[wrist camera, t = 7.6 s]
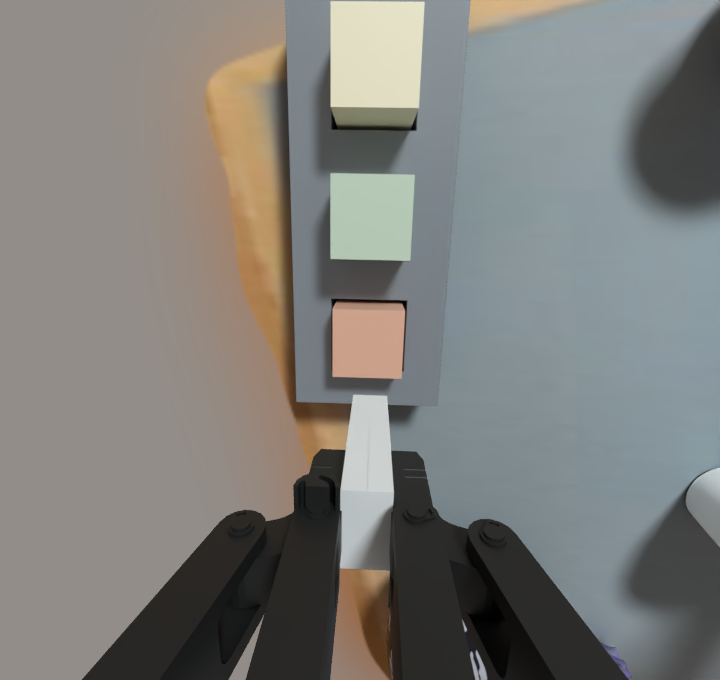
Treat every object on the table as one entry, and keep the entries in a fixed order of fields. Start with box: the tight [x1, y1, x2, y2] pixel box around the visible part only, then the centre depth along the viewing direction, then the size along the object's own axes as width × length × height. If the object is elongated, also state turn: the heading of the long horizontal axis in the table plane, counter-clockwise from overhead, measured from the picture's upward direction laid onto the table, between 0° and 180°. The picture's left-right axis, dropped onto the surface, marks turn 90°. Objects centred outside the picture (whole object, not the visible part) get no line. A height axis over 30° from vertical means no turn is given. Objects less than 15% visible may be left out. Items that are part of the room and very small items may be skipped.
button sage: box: [330, 173, 415, 261], centre depth 28 cm, size 5×5×6 cm
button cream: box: [330, 1, 425, 131], centre depth 26 cm, size 5×5×6 cm
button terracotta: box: [333, 299, 405, 379], centre depth 32 cm, size 5×5×6 cm
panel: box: [285, 0, 470, 406], centre depth 31 cm, size 30×12×5 cm, turn 179°
